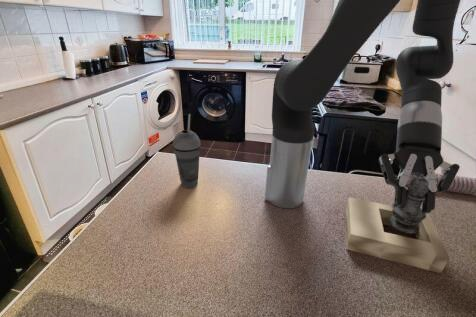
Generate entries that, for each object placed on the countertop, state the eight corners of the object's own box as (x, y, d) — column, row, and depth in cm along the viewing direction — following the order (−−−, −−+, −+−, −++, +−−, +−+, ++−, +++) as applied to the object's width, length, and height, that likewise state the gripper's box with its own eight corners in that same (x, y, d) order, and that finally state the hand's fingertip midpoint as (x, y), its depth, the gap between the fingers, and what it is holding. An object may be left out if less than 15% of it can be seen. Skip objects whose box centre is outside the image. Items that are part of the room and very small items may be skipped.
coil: (409, 174, 71) (487, 185, 67) (405, 165, 75) (478, 175, 71) (403, 188, 74) (478, 199, 70) (399, 178, 78) (470, 188, 73)
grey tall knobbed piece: (425, 236, 50) (448, 184, 45) (392, 231, 51) (411, 180, 46) (413, 217, 55) (433, 167, 50) (383, 213, 56) (400, 164, 51)
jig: (346, 249, 52) (350, 233, 50) (345, 210, 63) (348, 197, 61) (440, 273, 47) (449, 257, 45) (421, 227, 58) (428, 213, 56)
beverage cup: (181, 175, 76) (175, 108, 67) (205, 178, 75) (203, 110, 66) (172, 189, 69) (164, 117, 60) (198, 192, 68) (195, 119, 59)
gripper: (386, 115, 52) (377, 198, 48) (470, 124, 48) (470, 216, 44) (376, 131, 59) (368, 205, 55) (449, 140, 55) (447, 221, 50)
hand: (413, 209), depth 49 cm, fingers closed on grey tall knobbed piece, 3 cm apart
